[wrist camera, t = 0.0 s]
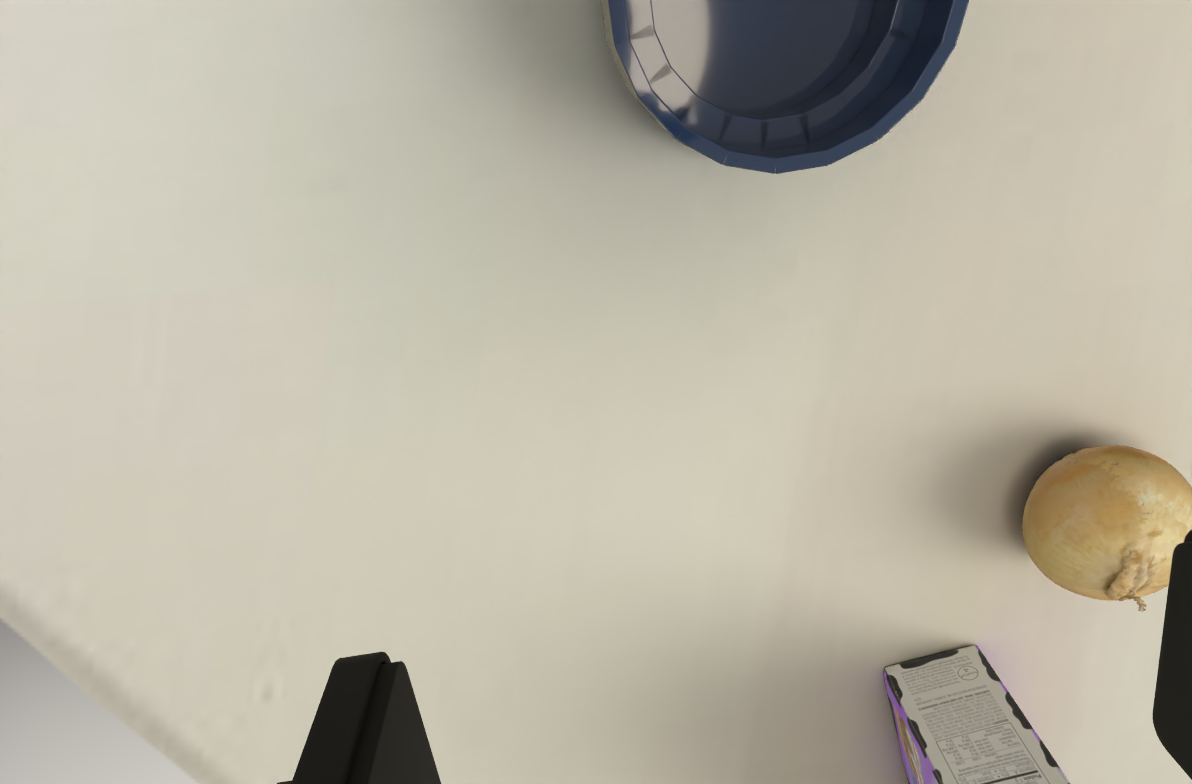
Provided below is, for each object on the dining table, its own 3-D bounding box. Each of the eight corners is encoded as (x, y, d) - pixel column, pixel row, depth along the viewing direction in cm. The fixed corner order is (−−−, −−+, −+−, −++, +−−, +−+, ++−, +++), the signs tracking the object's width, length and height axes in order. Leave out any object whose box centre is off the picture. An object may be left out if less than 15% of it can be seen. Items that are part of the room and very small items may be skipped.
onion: (1015, 429, 45) (1094, 497, 38) (1166, 424, 45) (1271, 491, 38) (992, 561, 48) (1061, 645, 41) (1133, 555, 48) (1224, 638, 41)
